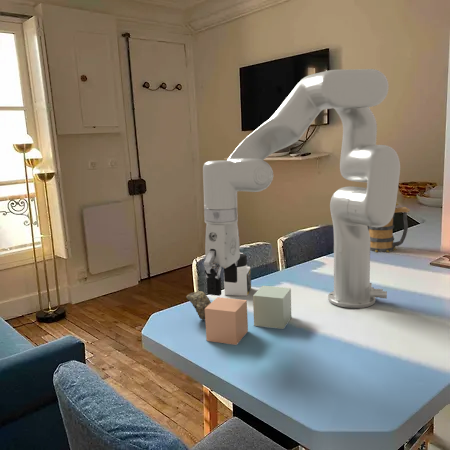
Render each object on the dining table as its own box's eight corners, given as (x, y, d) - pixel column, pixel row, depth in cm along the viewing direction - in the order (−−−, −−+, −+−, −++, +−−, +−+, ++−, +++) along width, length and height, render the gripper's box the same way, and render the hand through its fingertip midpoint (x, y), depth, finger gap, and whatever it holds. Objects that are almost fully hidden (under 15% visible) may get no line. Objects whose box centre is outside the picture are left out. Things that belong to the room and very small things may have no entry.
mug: (369, 245, 184) (369, 197, 180) (413, 249, 174) (414, 199, 171) (358, 252, 174) (359, 202, 170) (404, 257, 164) (406, 203, 160)
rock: (183, 291, 112) (198, 281, 113) (188, 301, 119) (202, 291, 120) (198, 313, 109) (213, 303, 110) (202, 322, 116) (216, 312, 117)
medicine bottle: (248, 296, 132) (246, 257, 130) (224, 295, 133) (222, 257, 131) (251, 288, 139) (250, 251, 136) (229, 287, 140) (227, 250, 138)
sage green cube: (291, 317, 115) (290, 288, 113) (283, 329, 108) (282, 298, 106) (263, 314, 118) (262, 285, 116) (254, 325, 111) (252, 295, 109)
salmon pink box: (248, 331, 108) (246, 300, 106) (236, 345, 101) (235, 311, 99) (219, 327, 111) (217, 297, 109) (206, 340, 104) (204, 308, 102)
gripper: (221, 222, 91) (223, 302, 94) (249, 210, 107) (250, 279, 110) (188, 221, 94) (191, 298, 97) (220, 209, 109) (222, 276, 112)
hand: (222, 288), depth 103 cm, fingers open, 9 cm apart
